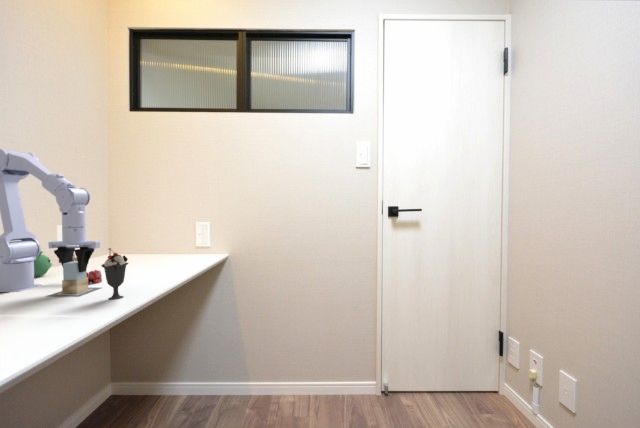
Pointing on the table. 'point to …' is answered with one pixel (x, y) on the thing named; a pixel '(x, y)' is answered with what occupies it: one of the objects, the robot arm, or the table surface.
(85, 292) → the grey square pad
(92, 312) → the table surface
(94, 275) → the toy fire truck
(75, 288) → the beech block
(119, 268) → the sundae
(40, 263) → the alien toy
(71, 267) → the bluegrey block
